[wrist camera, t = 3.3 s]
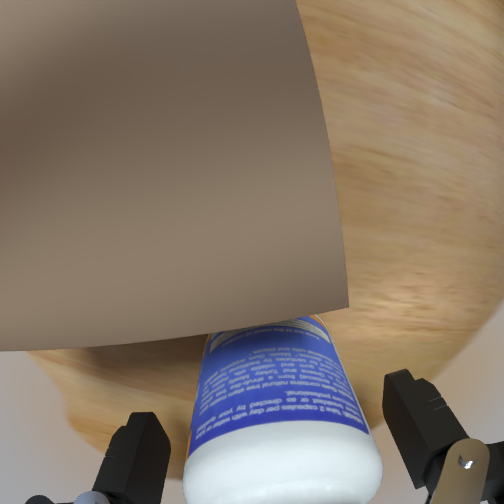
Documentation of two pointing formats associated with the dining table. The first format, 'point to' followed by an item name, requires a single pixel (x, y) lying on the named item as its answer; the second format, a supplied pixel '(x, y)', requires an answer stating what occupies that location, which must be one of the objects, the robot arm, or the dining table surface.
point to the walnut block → (161, 172)
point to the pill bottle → (278, 421)
